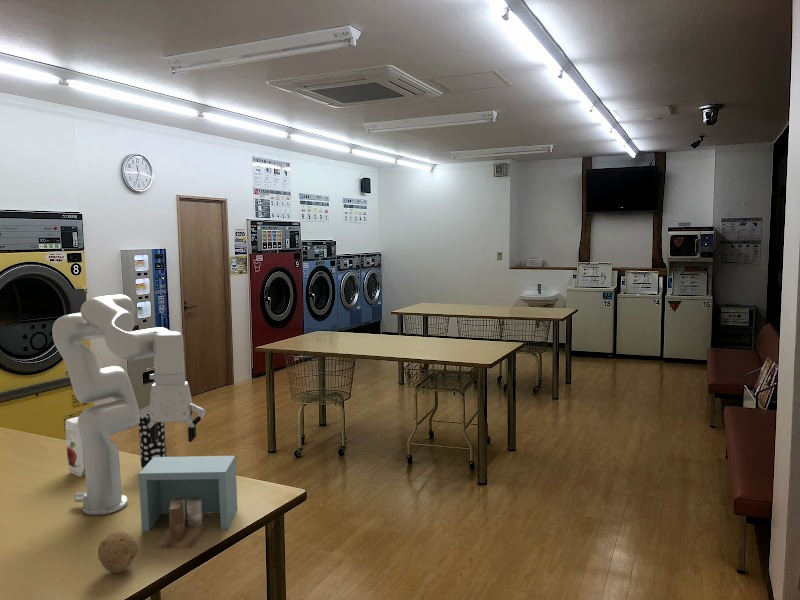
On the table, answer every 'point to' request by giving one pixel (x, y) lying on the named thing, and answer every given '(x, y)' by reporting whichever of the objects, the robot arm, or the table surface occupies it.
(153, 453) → the white-spotted black cylinder
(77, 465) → the juice carton
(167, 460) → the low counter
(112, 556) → the natural sponge
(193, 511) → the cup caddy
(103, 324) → the robot arm
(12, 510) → the table surface
